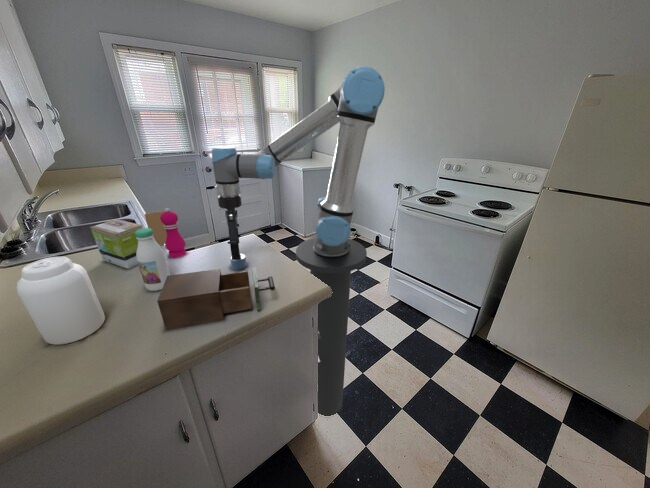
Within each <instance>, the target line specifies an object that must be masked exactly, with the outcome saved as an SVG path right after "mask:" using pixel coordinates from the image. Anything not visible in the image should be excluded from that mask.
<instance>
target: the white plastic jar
mask: <svg viewBox="0 0 650 488" xmlns="http://www.w3.org/2000/svg"><path fill="white" fill-rule="evenodd" d="M20 275H21V277H20V278H19V280H18V281H17V282H16V293H17V295H18V297H19V298H20V300H21V302H22V304H23V306H24V307H25V309H26V311H27V312H28V314H29V316H30V318H31V320H32V322H33V323H34V326H35V327H36V329H37V330H38V332H39V333H40V336H41V337H42V339H43V340H44V341H45V342H46V343H47V344H49V345H55V346H59V345H60V346H61V345H67V344H70V343H75V342H77V341H79V340H83V339H85V338H86V337H88V336H90V335H92V334H93V333H95V332H96V331H97V330H99V329H100V328H101V327H102V326H103V325H104V322H105V320H106V316H105V315H106V314H105V313H104V310H103V307H102V305H101V303H100V301H99V298H98V295H97V293H96V290H95V289H94V286H93V284H92V281H91V279H90V276H89V274H88V272H87V270H86V269H85V267H83V266H82V265H80V264H78V263H75V262H72V260H71V259H70V258H69V257H67V256H62V255H61V256H50V257H46V258H41V259H38V260H36V261H33V262H30V263H29V264H27V265H25V266H24V267H23V268H21V274H20Z"/></svg>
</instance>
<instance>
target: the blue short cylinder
mask: <svg viewBox="0 0 650 488" xmlns="http://www.w3.org/2000/svg"><path fill="white" fill-rule="evenodd" d="M229 261H230V267H231V269H232V270H234V271H240V270H241V271H242V270H244V269H245V268H246V267H247V258H246V255H245V254H243V253H240V259H237V260H232V255H231V256H230V257H229Z"/></svg>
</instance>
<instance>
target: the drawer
mask: <svg viewBox="0 0 650 488" xmlns="http://www.w3.org/2000/svg"><path fill="white" fill-rule="evenodd" d="M251 273H252V274H251V275H252V281H253V282H252V283H253V290H254V291H253V292H254V299H255V306H256V311H260V310H262V306H261V297H260V296H261V295H260V292H261V291H268V290H270V291H272V292H273V291H275V290H276V286H275V283H274V279H273V276H272V275H269V276H268V277H265V278H259V279H258V275H257V273H258V272H257V268H256V267H252V268H251ZM267 281H268V286H264V287H260V286H259V283H260V282H267ZM219 295H220V300H221V306H222V311H223V314H224V315H225V314H230V313H235V312H241V311H246V310H252V309H253V303H252V295H251V286H250V279H249V270H241V271H240V270H239V271H234V272H226V273H221V275H220V287H219Z"/></svg>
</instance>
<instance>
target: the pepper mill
mask: <svg viewBox="0 0 650 488" xmlns="http://www.w3.org/2000/svg"><path fill="white" fill-rule="evenodd" d="M164 211H165V212H164V213H162V214H161V216H160V220H161V222H162V223H163V224H164V225H163V226H164V228H165V229H166V232H167V237H166V242H165V244H164V245H165V249H166V250H167V251H168V256H169V257H170V258H173V259H175V258H176V259H177V258H181V257H184V256H185V255H186V254H187V250H186V248H185V247H186V241H185V239H184V237H183V236H182V235H181V234H180V231H179V228H178V227H179V223H178V220H179V217H178V214H177V213H176V212H175V211H172V210H171V209H170V208H169V207H165V208H164Z"/></svg>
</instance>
